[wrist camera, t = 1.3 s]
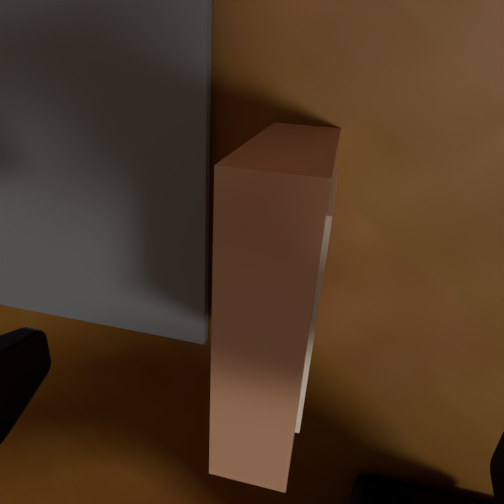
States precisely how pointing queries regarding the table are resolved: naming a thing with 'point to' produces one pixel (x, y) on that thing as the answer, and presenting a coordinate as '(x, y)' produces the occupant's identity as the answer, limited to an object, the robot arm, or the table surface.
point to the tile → (267, 295)
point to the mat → (107, 162)
